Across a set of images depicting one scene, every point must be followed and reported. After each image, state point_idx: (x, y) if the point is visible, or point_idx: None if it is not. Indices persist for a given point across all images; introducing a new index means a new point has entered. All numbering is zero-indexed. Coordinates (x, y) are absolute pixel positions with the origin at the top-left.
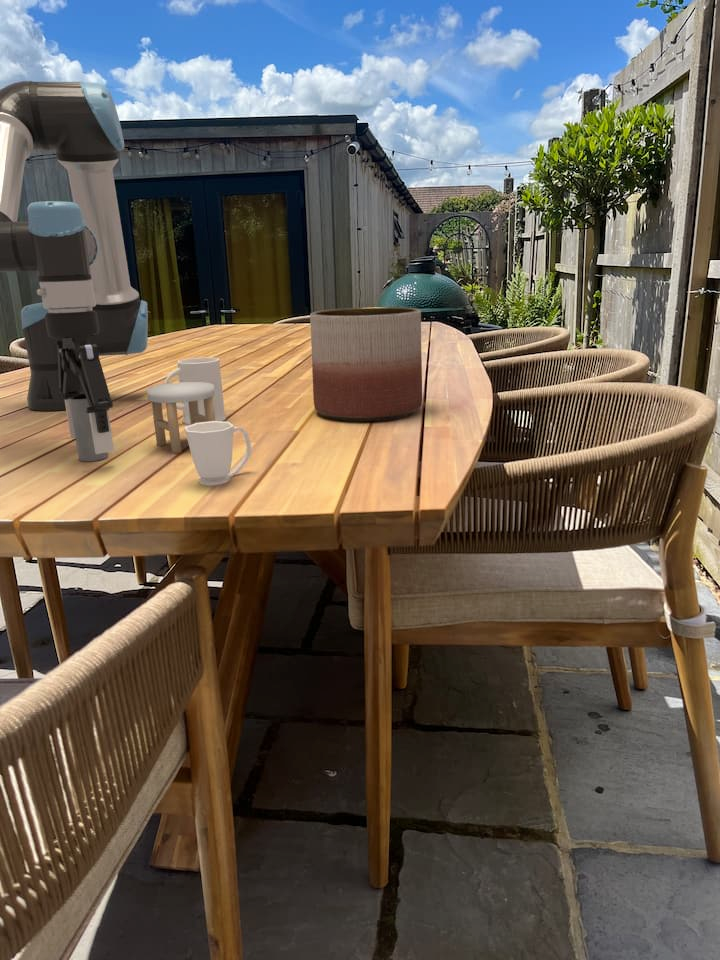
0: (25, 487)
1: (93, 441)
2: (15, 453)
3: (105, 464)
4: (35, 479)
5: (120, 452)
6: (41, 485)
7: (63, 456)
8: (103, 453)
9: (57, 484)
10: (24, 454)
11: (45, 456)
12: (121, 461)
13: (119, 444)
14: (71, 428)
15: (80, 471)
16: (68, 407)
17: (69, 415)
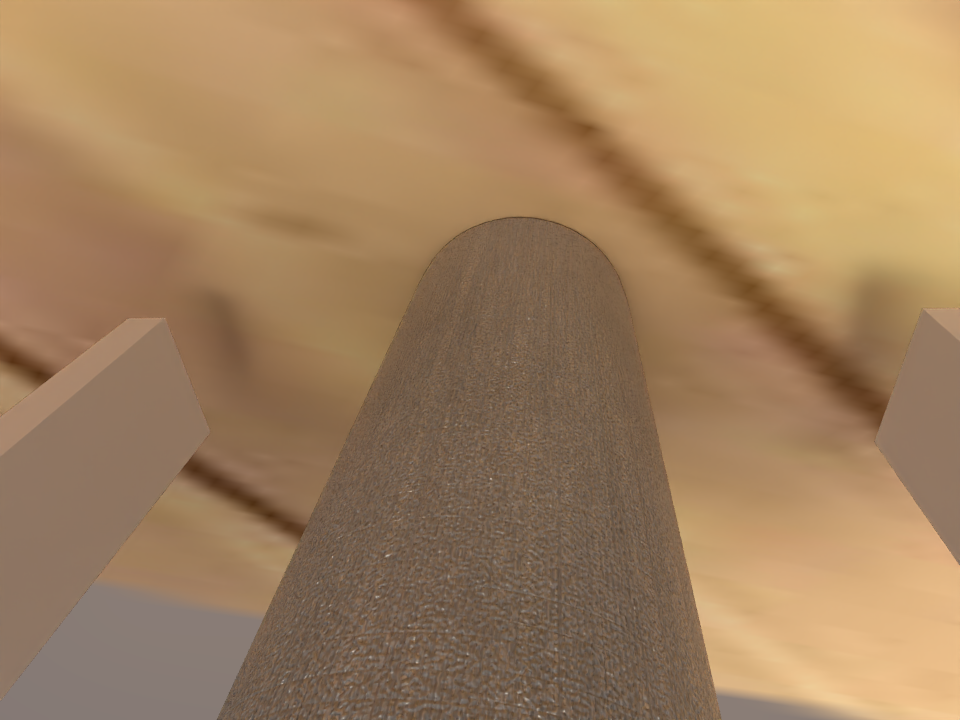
0: (828, 668)
1: (932, 521)
2: (140, 572)
3: (772, 301)
4: (730, 622)
5: (485, 89)
6: (868, 630)
7: (341, 439)
8: (618, 287)
9: (933, 589)
10: (182, 553)
11: (282, 501)
12: (803, 175)
13: (164, 4)
14: (163, 482)
15: (792, 458)
16: (5, 668)
17: (76, 583)
